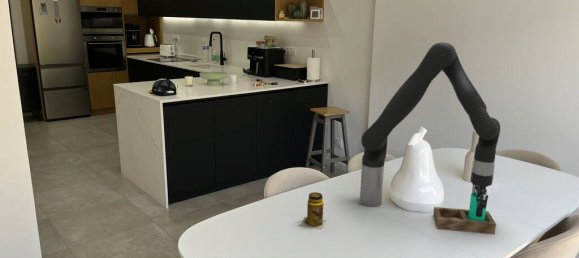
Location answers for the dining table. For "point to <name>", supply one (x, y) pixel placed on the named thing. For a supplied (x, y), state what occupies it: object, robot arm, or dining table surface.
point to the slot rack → (462, 221)
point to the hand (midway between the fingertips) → (476, 213)
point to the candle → (473, 209)
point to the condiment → (314, 211)
